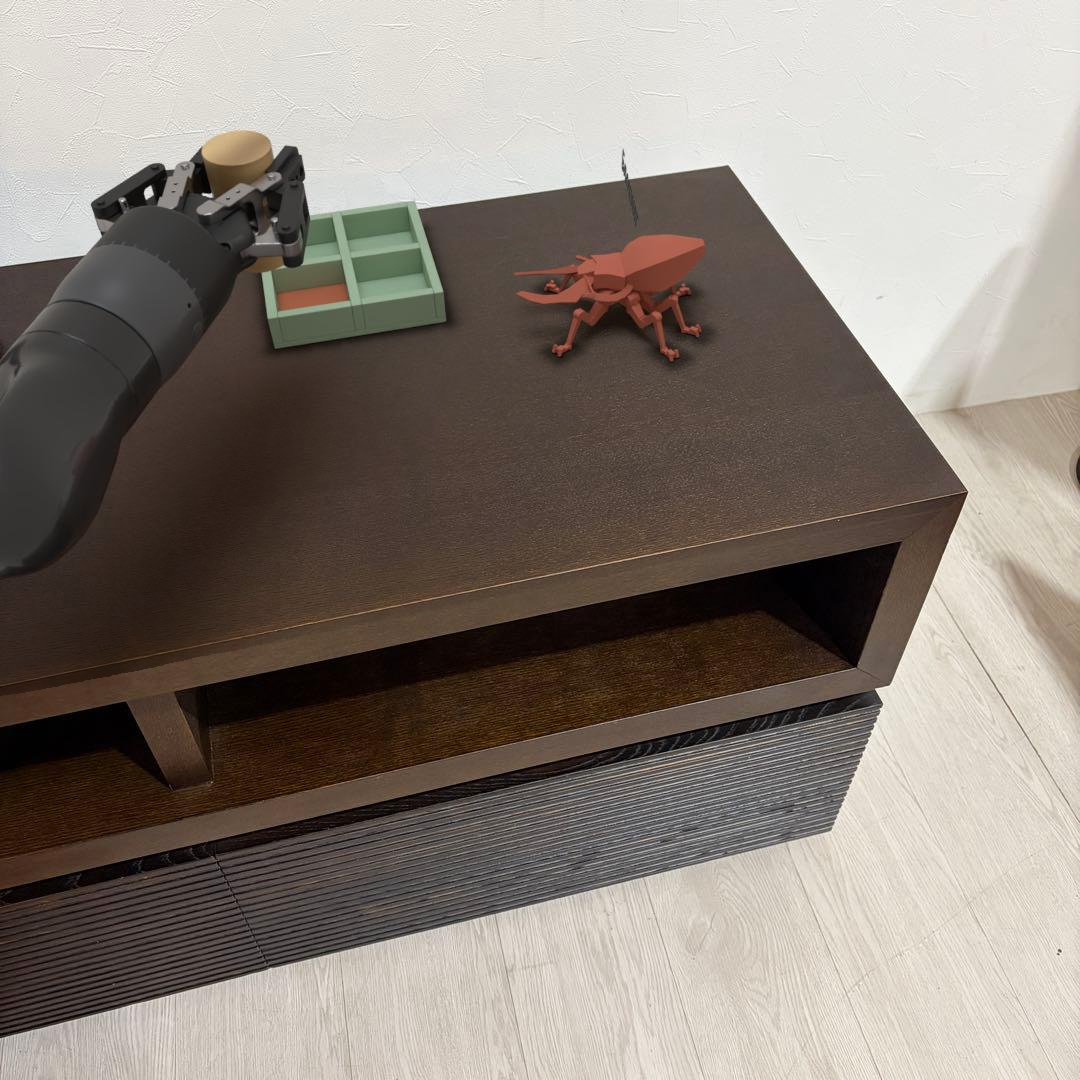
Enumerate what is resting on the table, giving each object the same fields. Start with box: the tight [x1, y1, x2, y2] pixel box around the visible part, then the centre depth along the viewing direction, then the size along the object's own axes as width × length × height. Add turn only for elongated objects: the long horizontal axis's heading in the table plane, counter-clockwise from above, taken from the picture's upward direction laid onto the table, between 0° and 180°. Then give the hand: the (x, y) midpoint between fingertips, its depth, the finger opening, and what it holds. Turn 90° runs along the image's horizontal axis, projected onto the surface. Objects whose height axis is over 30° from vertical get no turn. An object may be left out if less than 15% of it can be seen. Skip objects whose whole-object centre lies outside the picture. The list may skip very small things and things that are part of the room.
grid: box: [261, 200, 447, 350], centre depth 92 cm, size 14×14×3 cm
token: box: [201, 130, 284, 274], centre depth 73 cm, size 4×4×8 cm
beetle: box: [513, 148, 707, 362], centre depth 86 cm, size 15×12×13 cm
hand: (259, 154), depth 73 cm, fingers closed on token, 4 cm apart
